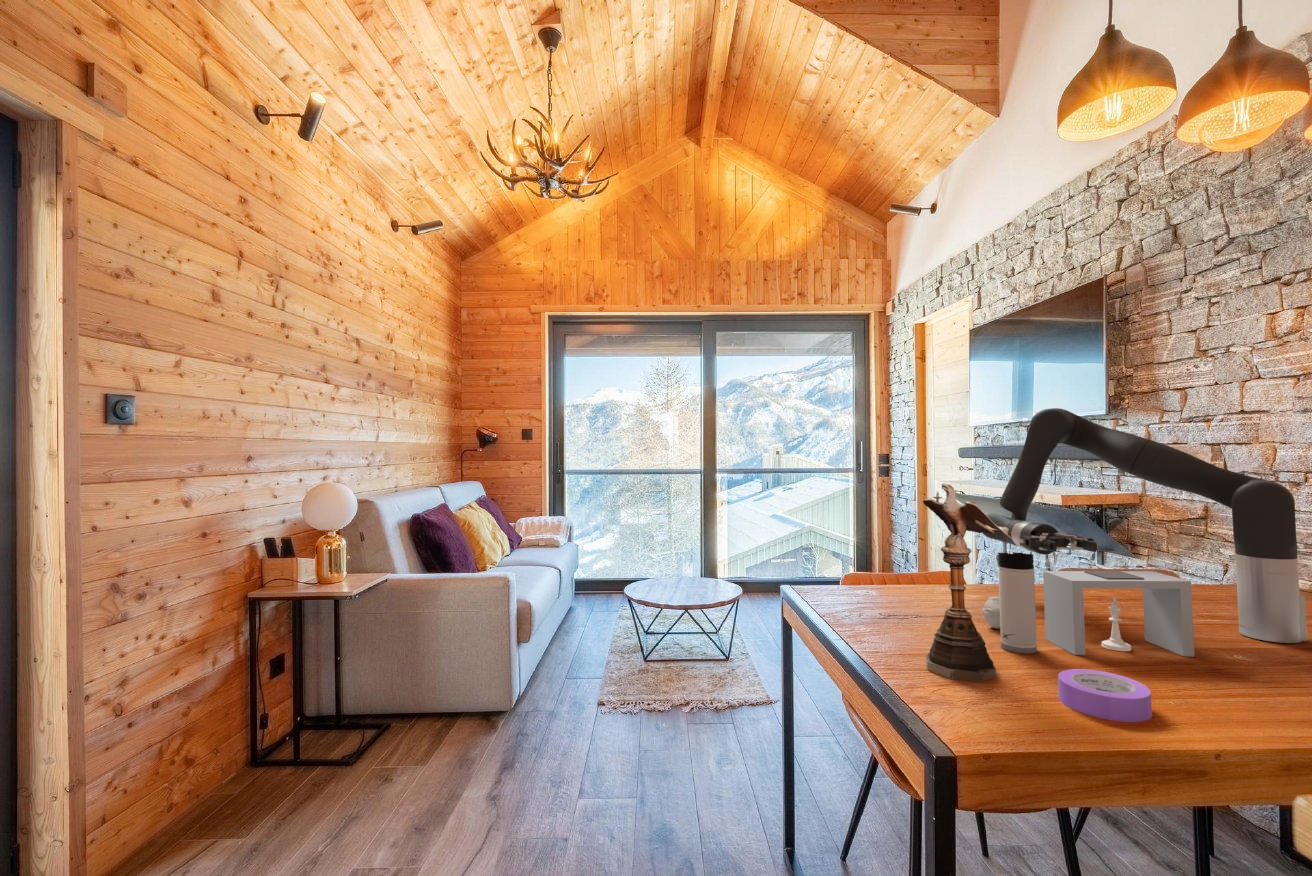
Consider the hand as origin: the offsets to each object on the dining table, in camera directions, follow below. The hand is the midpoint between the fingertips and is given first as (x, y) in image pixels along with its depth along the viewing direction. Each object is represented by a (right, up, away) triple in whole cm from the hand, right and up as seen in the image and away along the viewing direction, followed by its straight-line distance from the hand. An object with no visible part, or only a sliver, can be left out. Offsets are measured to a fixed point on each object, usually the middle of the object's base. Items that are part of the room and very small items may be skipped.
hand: (1074, 547), depth 132 cm
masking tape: (-24, -18, -40) cm, 50 cm away
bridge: (-1, -18, -13) cm, 22 cm away
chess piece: (-1, -18, -13) cm, 22 cm away
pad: (-1, -4, -12) cm, 13 cm away
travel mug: (-21, -19, -13) cm, 31 cm away
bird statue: (-37, -19, -22) cm, 46 cm away
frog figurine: (-17, -19, +2) cm, 25 cm away
